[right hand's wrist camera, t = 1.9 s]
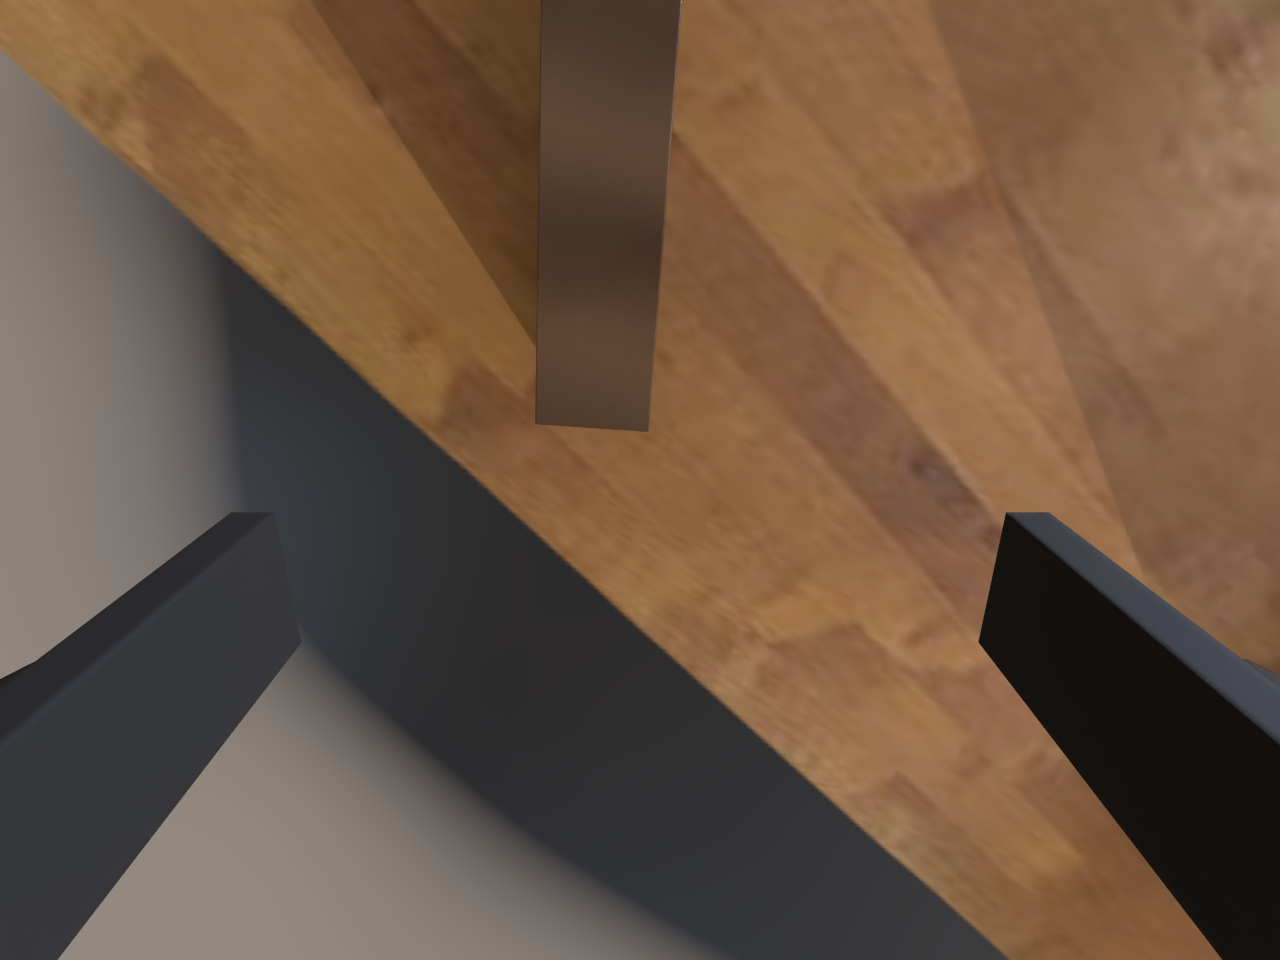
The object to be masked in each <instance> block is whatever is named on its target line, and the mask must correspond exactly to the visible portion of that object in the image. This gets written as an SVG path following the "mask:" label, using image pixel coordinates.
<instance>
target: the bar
mask: <svg viewBox="0 0 1280 960" xmlns="http://www.w3.org/2000/svg"><path fill="white" fill-rule="evenodd" d="M681 5H682V0H541V53H540V125H539V198H538V270H537V343H536V415H535V423H536V424H541V425H555V426H570V427H585V428H600V429H614V430H629V431H644V432H648V431H649V422H650V409H651V396H652V383H653V370H654V357H655V344H656V331H657V318H658V305H659V292H660V279H661V266H662V253H663V240H664V227H665V214H666V201H667V188H668V175H669V162H670V149H671V135H672V122H673V109H674V96H675V83H676V70H677V57H678V44H679V31H680V18H681Z"/></svg>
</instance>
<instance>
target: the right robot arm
mask: <svg viewBox="0 0 1280 960" xmlns="http://www.w3.org/2000/svg"><path fill="white" fill-rule="evenodd" d="M300 644H301V638H300V633H299V628H298V623H297V619H296V614H295V609H294V605H293V600H292V595H291V590H290V586H289V581H288V576H287V572H286V567H285V562H284V558H283V553H282V548H281V543H280V539H279V534H278V529H277V525H276V520H275V515H274V513H230V514H229V515H227V516H226V517H225V518H223V519H222V520H221V521H219V522H218V523H217V524H215V525H214V526H213V527H212V528H210V529H209V530H208V531H206V532H205V533H204V534H202V535H201V536H200V537H198V538H197V539H196V540H194V541H193V542H192V543H191V544H189V545H188V546H187V547H185V548H184V549H183V550H181V551H180V552H179V553H177V554H176V555H175V556H173V557H172V558H171V559H169V560H168V561H167V562H166V563H164V564H163V565H162V566H160V567H159V568H158V569H156V570H155V571H154V572H152V573H151V574H150V575H148V576H147V577H146V578H144V579H143V580H142V581H141V582H139V583H138V584H137V585H135V586H134V587H133V588H131V589H130V590H129V591H127V592H126V593H125V594H123V595H122V596H121V597H120V598H118V599H117V600H116V601H114V602H113V603H112V604H110V605H109V606H108V607H106V608H105V609H104V610H102V611H101V612H100V613H98V614H97V615H96V616H94V617H93V618H92V619H91V620H89V621H88V622H87V623H85V624H84V625H83V626H81V627H80V628H79V629H77V630H76V631H75V632H73V633H72V634H71V635H70V636H68V637H67V638H66V639H64V640H63V641H62V642H60V643H59V644H58V645H56V646H55V647H54V648H53V649H51V650H50V651H48V652H47V653H46V654H45V655H43V656H42V657H41V658H39V659H38V660H37V661H35V662H33V663H31V664H29V665H27V666H25V667H23V668H21V669H19V670H17V671H15V672H13V673H11V674H9V675H7V676H5V677H3V678H1V679H0V960H58V958H59V957H60V956H61V954H62V953H63V952H64V951H65V949H66V948H67V947H68V945H69V944H70V943H71V942H72V940H73V939H74V938H75V936H76V935H77V934H78V932H79V931H80V930H81V929H82V927H83V926H84V925H85V923H86V922H87V921H88V919H89V918H90V917H91V915H92V914H93V913H94V912H95V910H96V909H97V908H98V906H99V905H100V904H101V902H102V901H103V900H104V899H105V897H106V896H107V895H108V893H109V892H110V891H111V889H112V888H113V887H114V886H115V884H116V883H117V882H118V880H119V879H120V878H121V876H122V875H123V874H124V873H125V871H126V870H127V869H128V867H129V866H130V865H131V863H132V862H133V861H134V859H135V858H136V857H137V856H138V854H139V853H140V852H141V850H142V849H143V848H144V847H145V845H146V844H147V843H148V841H149V840H150V839H151V837H152V836H153V835H154V833H155V832H156V831H157V829H158V828H159V827H160V826H161V824H162V823H163V822H164V820H165V819H166V818H167V817H168V815H169V814H170V813H171V811H172V810H173V809H174V807H175V806H176V805H177V804H178V802H179V801H180V800H181V798H182V797H183V796H184V794H185V793H186V792H187V790H188V789H189V788H190V787H191V785H192V784H193V783H194V781H195V780H196V779H197V778H198V776H199V775H200V774H201V772H202V771H203V770H204V768H205V767H206V766H207V765H208V763H209V762H210V761H211V759H212V758H213V757H214V755H215V754H216V753H217V752H218V750H219V749H220V748H221V746H222V745H223V744H224V742H225V741H226V740H227V739H228V737H229V736H230V735H231V733H232V732H233V731H234V729H235V728H236V727H237V725H238V724H239V723H240V722H241V720H242V719H243V718H244V716H245V715H246V714H247V712H248V711H249V710H250V709H251V707H252V706H253V705H254V703H255V702H256V701H257V699H258V698H259V697H260V696H261V694H262V693H263V692H264V690H265V689H266V688H267V686H268V685H269V684H270V683H271V681H272V680H273V679H274V677H275V676H276V675H277V673H278V672H279V671H280V669H281V668H282V667H283V666H284V664H285V663H286V662H287V660H288V659H289V658H290V657H291V655H292V654H293V653H294V651H295V650H296V649H297V647H298V646H299V645H300ZM979 644H980V645H981V646H982V647H983V649H984V650H985V651H986V653H987V654H988V655H989V657H990V658H991V659H992V660H993V662H994V663H995V664H996V666H997V667H998V668H999V670H1000V671H1001V672H1002V673H1003V675H1004V676H1005V677H1006V679H1007V680H1008V681H1009V683H1010V684H1011V685H1012V686H1013V688H1014V689H1015V690H1016V692H1017V693H1018V694H1019V696H1020V697H1021V698H1022V699H1023V701H1024V702H1025V703H1026V705H1027V706H1028V707H1029V709H1030V710H1031V711H1032V712H1033V714H1034V715H1035V716H1036V718H1037V719H1038V720H1039V722H1040V723H1041V724H1042V725H1043V727H1044V728H1045V729H1046V731H1047V732H1048V733H1049V735H1050V736H1051V737H1052V739H1053V740H1054V741H1055V742H1056V744H1057V745H1058V746H1059V748H1060V749H1061V750H1062V752H1063V753H1064V754H1065V755H1066V757H1067V758H1068V759H1069V761H1070V762H1071V763H1072V765H1073V766H1074V767H1075V768H1076V770H1077V771H1078V772H1079V774H1080V775H1081V776H1082V778H1083V779H1084V780H1085V781H1086V783H1087V784H1088V785H1089V787H1090V788H1091V789H1092V791H1093V792H1094V793H1095V794H1096V796H1097V797H1098V798H1099V800H1100V801H1101V802H1102V804H1103V805H1104V806H1105V807H1106V809H1107V810H1108V811H1109V813H1110V814H1111V815H1112V817H1113V818H1114V819H1115V820H1116V822H1117V823H1118V824H1119V826H1120V827H1121V828H1122V830H1123V831H1124V832H1125V834H1126V835H1127V836H1128V837H1129V839H1130V840H1131V841H1132V843H1133V844H1134V845H1135V847H1136V848H1137V849H1138V850H1139V852H1140V853H1141V854H1142V856H1143V857H1144V858H1145V860H1146V861H1147V862H1148V863H1149V865H1150V866H1151V867H1152V869H1153V870H1154V871H1155V873H1156V874H1157V875H1158V876H1159V878H1160V879H1161V880H1162V882H1163V883H1164V884H1165V886H1166V887H1167V888H1168V889H1169V891H1170V892H1171V893H1172V895H1173V896H1174V897H1175V899H1176V900H1177V901H1178V902H1179V904H1180V905H1181V906H1182V908H1183V909H1184V910H1185V912H1186V913H1187V914H1188V915H1189V917H1190V918H1191V919H1192V921H1193V922H1194V923H1195V925H1196V926H1197V927H1198V929H1199V930H1200V931H1201V932H1202V934H1203V935H1204V936H1205V938H1206V939H1207V940H1208V942H1209V943H1210V944H1211V945H1212V947H1213V948H1214V949H1215V951H1216V952H1217V953H1218V955H1219V956H1220V957H1221V958H1222V960H1280V676H1279V675H1277V674H1275V673H1273V672H1271V671H1269V670H1267V669H1265V668H1263V667H1261V666H1259V665H1257V664H1255V663H1253V662H1251V661H1249V660H1247V659H1241V658H1239V657H1238V656H1237V655H1235V654H1234V653H1233V652H1232V651H1230V650H1229V649H1228V648H1226V647H1225V646H1224V645H1222V644H1221V643H1220V642H1218V641H1217V640H1216V639H1214V638H1213V637H1212V636H1210V635H1209V634H1208V633H1207V632H1205V631H1204V630H1203V629H1201V628H1200V627H1199V626H1197V625H1196V624H1195V623H1193V622H1192V621H1191V620H1189V619H1188V618H1187V617H1186V616H1184V615H1183V614H1182V613H1180V612H1179V611H1178V610H1176V609H1175V608H1174V607H1172V606H1171V605H1170V604H1168V603H1167V602H1166V601H1164V600H1163V599H1162V598H1161V597H1159V596H1158V595H1157V594H1155V593H1154V592H1153V591H1151V590H1150V589H1149V588H1147V587H1146V586H1145V585H1143V584H1142V583H1141V582H1139V581H1138V580H1137V579H1136V578H1134V577H1133V576H1132V575H1130V574H1129V573H1128V572H1126V571H1125V570H1124V569H1122V568H1121V567H1120V566H1118V565H1117V564H1116V563H1114V562H1113V561H1112V560H1111V559H1109V558H1108V557H1107V556H1105V555H1104V554H1103V553H1101V552H1100V551H1099V550H1097V549H1096V548H1095V547H1093V546H1092V545H1091V544H1090V543H1088V542H1087V541H1086V540H1084V539H1083V538H1082V537H1080V536H1079V535H1078V534H1076V533H1075V532H1074V531H1072V530H1071V529H1070V528H1068V527H1067V526H1066V525H1065V524H1063V523H1062V522H1061V521H1059V520H1058V519H1057V518H1055V517H1054V516H1053V515H1051V514H1050V513H1006V515H1005V520H1004V525H1003V529H1002V534H1001V539H1000V543H999V548H998V553H997V558H996V562H995V567H994V572H993V576H992V581H991V586H990V590H989V595H988V600H987V605H986V609H985V614H984V619H983V623H982V628H981V633H980V638H979Z"/></svg>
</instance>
